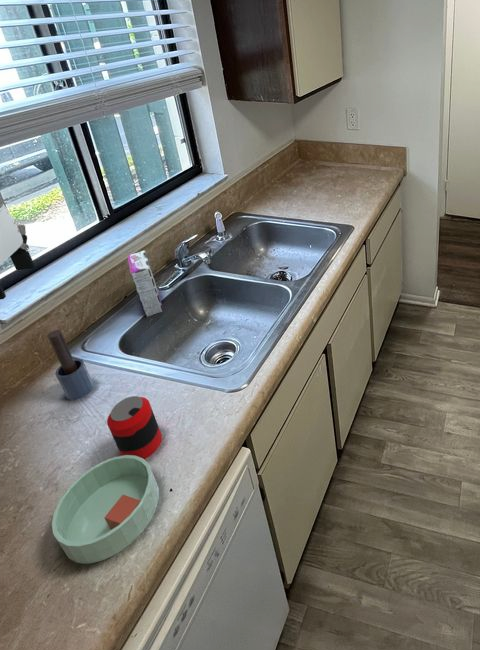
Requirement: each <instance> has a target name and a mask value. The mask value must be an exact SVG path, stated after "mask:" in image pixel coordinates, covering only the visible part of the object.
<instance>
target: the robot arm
mask: <svg viewBox="0 0 480 650" xmlns="http://www.w3.org/2000/svg"><path fill="white" fill-rule="evenodd" d="M27 243H28V235H27V231H26V225H25V224H17V223H16V221H15V219H14V217H13V216H12V214H11V213H10V211H9V210H8V208H7V207H6V205H5V204H4V202H3V200H2V198H1V197H0V266H1V265H2V264H3V263H5V262H6V261H7V260H8V259H9V258H10V260H11V262H12V264H13V266H14V268H15V271H26V270H32V269H34V268H35V267H36V265H35V262H34V261H33V260H34V259H33V258H32V256H31V254H30V252H29V250H30V249H29V248H30V247H29V245H28V244H27ZM6 297H7V295H6V293H5V290H4V288H3V287H2V285H1V283H0V300H4V299H5V298H6Z"/></svg>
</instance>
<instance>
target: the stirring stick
mask: <svg viewBox="0 0 480 650" xmlns="http://www.w3.org/2000/svg"><path fill="white" fill-rule="evenodd" d="M47 338H48V341H49V343H50V345H51V348H52V349H53V351H54V354H55V355H56V358H57V359H58V362H59V364H60V366H62V368H63V370H64V372H65V374H66V375H69V374H71V373H73V372H75V371H76V370H78V368H77V366H76V364H75V362H74V359H75V358H74V357H73V355H72V353H71V350H70V349H69V347H68V344H67V341H66V339H65V338H64V336H63V333H62V332H61V330H60V329H55V330H52V331H51V332H49V333H48V334H47Z"/></svg>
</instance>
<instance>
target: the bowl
mask: <svg viewBox="0 0 480 650" xmlns="http://www.w3.org/2000/svg"><path fill="white" fill-rule="evenodd" d="M122 495H126V496H129V497H132V498H135V499H137V500H140V503H139V504H138V506H137V507H136V508H135V509H134V511H133V512H132V513H131V514H130V515H129V516H128V517H127V518H126V519H125V520H124V521H123V522H122V523H121V524H120V525H118V526H117V527H115V528H114V529H112V530H110V528H109V526H108V524H107V522H106V520H105V518H104V517H105V516H106V515H107V514H108V512H109V511H110V510H111V509H112V507H113V506H114V505H115V504H116V502H117V501H118V500H119V499H120V497H121V496H122ZM159 500H160V488H159V485H158V483H157V480H156V477H155V475H154V472H153V471H152V468H151V465H150V464H149V462H148V461H147V460H146V459H145V460H144V459H143V458H140V457H138V456H135V455H123V456H121V455H118V456H114V457H111V458H109V459H106V460H103V461H101V462H99V463H98V464H95V465H94V466H92V467H90V468H89V469H88V470H87V471H85V472H84V473H83V474H81V475H80V476H78V478H77V479H76V480H75V481H74V482H73V483H72V484H70V486H69V487H68V488H67V489H66V491H65V493H63V495H62V496H61V498H60V499H59V501H58V503H57V504H56V507H55V509H54V512H53V516H52V520H51V530H52V535H53V537H54V538H55V539H56V541H57V542H58V544H59V546H60V547H61V549H62V551H63V552H64V553H65V555H66V557H67V558H68V559H69V560H70V561H73V562H74V563H77V564H83V565H84V564H87V565H88V564H95V563H99V562H102V561H105V560H107V559H110V558H111V557H114V556H115V555H117V554H118V553H121V552H122V551H123V550H125V549H126V548H127V547H128V546H129V545H131V544H132V543H133V542H134V541H135V540H136V539H137V538H138V537H139V536H140V535H141V534H142V533H143V532H144V531H145V529H146V528H147V526H148V525H149V524H150V523H151V521H152V518H153V517H154V514H155V512H156V510H157V507H158V503H159Z"/></svg>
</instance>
